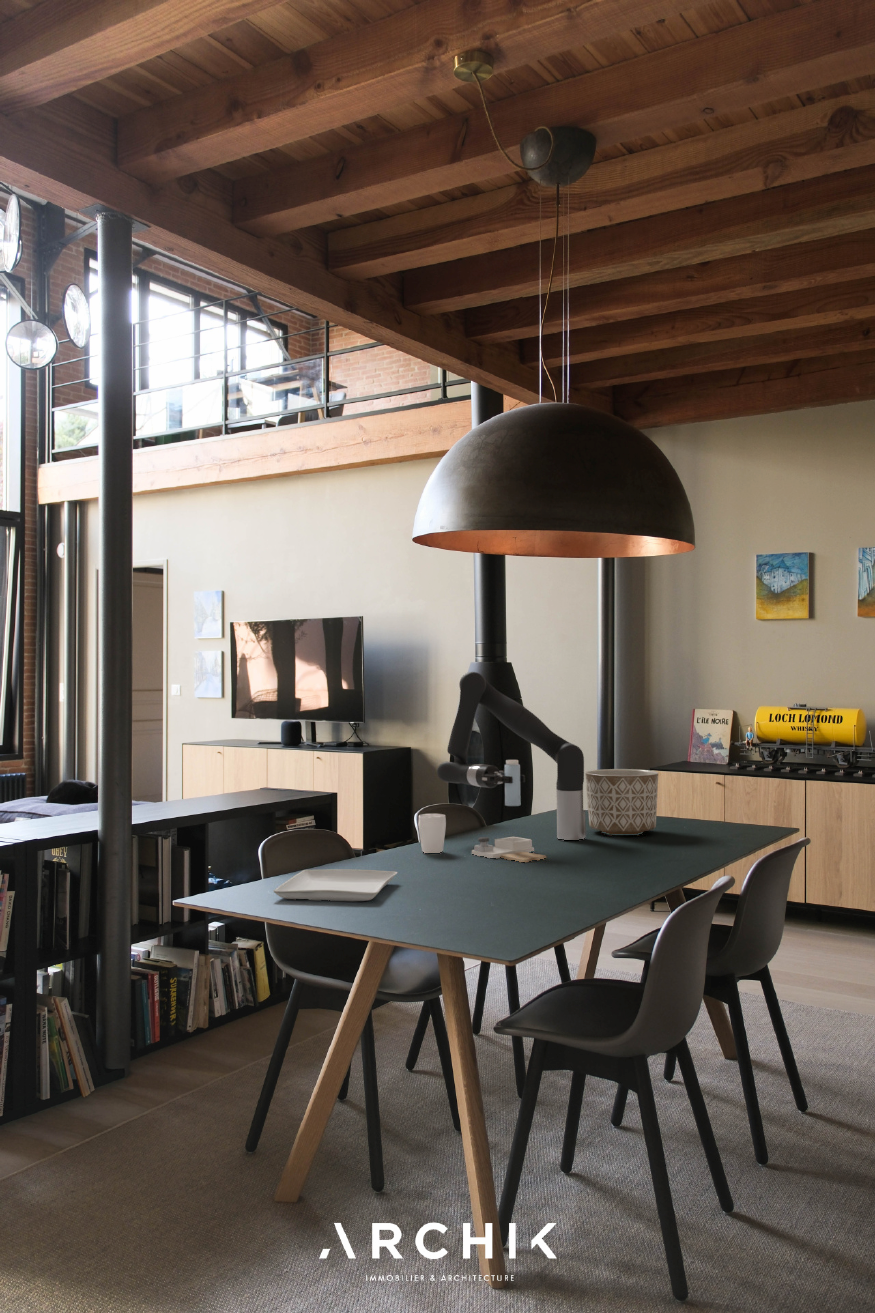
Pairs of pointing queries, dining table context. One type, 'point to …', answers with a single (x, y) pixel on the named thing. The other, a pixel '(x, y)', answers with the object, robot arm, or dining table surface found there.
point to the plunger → (483, 841)
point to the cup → (432, 832)
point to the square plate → (335, 884)
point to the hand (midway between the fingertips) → (518, 779)
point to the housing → (504, 847)
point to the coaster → (523, 856)
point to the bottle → (512, 788)
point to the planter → (622, 800)
